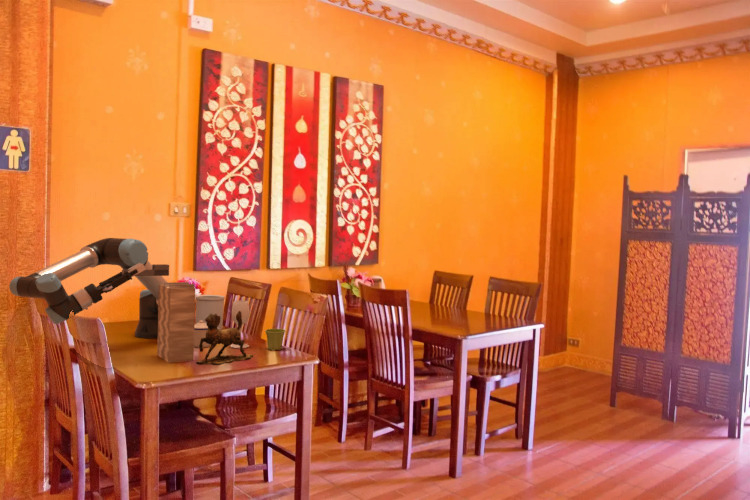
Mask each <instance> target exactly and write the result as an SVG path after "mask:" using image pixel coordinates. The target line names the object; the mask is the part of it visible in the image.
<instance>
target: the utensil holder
mask: <svg viewBox="0 0 750 500" xmlns="http://www.w3.org/2000/svg"><path fill="white" fill-rule="evenodd" d="M224 305H225V296H224V295H219V294H200V295H199V294H198V295H195V324H197V323H199V321H204V322H203V323H206V324H207V322H206V321H205V319H206V318H207V317H208V316H209V314H211V313H212V314H217V315H218V316H220V324H219V326H218V327H217V329H218V330H223V324H224V323H223V322H224V321H223V320H224Z"/></svg>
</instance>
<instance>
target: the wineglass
mask: <svg viewBox="0 0 750 500" xmlns="http://www.w3.org/2000/svg"><path fill="white" fill-rule="evenodd" d="M239 311H241V313H242V314H241V315H242V326H241V328H240V330H239V332H240V338H241V339H242V327H243V325H245V324H246V323H247V322H248V321H249V319H250V311H251V310H250V303H249V300H241V299H239V300H234V301H233V302H232V307H231V319H232V321H233V323H234V324H236V325H237V326H238V322H237V320H236V315H237V313H238V312H239ZM229 346H230V348H234V349H240V346H239V345H235V344H233V343H232V344H231V345H229ZM249 347H250V345H249V344H247V343H244V344H243V349H246V348H249Z"/></svg>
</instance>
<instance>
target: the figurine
mask: <svg viewBox="0 0 750 500" xmlns="http://www.w3.org/2000/svg"><path fill="white" fill-rule="evenodd" d="M241 314H242V313H241V311H239V312H238V313H237V315H236V320H237V322H238V325H237V327H228V328H226V329H221V330H218V329H217V327H218V326H219V324H220V316H218V315H217V314H212V313H211V314H209V316H208V317H207V318H206V319H205V321H206V322H207V324H206V325H207V326H208V329H207V331H206V338H204V337H202V338H201V341H200V345H199V348H198V349H199V352H200V353H203V352H204V347H203V345H202V343H203V342H206V343H208V344H210V346H209V349H208V351H207V353H206V354H205V357H204V358H203V359H202V360H197V361H196V362H195V364H196V365H197V364H198V365H213V366H219V365H223V364H230V363H231V364H232V363H233V362H240V361H246V360H247V361H248V360H251V359H252V358H253V357H254V356H253V355H254V354H247V353H246V352H245V350H244V349H245V348H243V344H245V342H246V341H245V339H242V337H241V338H240V332H239V330H240V328H241V329H242V327H243V325H242V315H241ZM241 326H242V327H241ZM232 344H235V345H239V346H240V348H239V352H240V353H241V354H238V355H235V354H231V355H228V354H227V355H223V353H224V350H225V349H227V348H228V347H229V346H230V345H232ZM217 345H223V346H222V347H221V349H219V351H218V353H217V354H216V355H215V356H212V357H210V354H211V352H213V350H214V349H215V348H216V347H217ZM202 347H203V348H202ZM209 357H210V358H209Z"/></svg>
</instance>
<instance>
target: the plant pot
mask: <svg viewBox="0 0 750 500" xmlns="http://www.w3.org/2000/svg"><path fill="white" fill-rule="evenodd" d="M264 332H265V334H266V341H267V349H268V350H271V351H276V350H277V351H279V350H282V348H283V343H284V336H285V333H286V329H284V328H267V329H265V330H264Z"/></svg>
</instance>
